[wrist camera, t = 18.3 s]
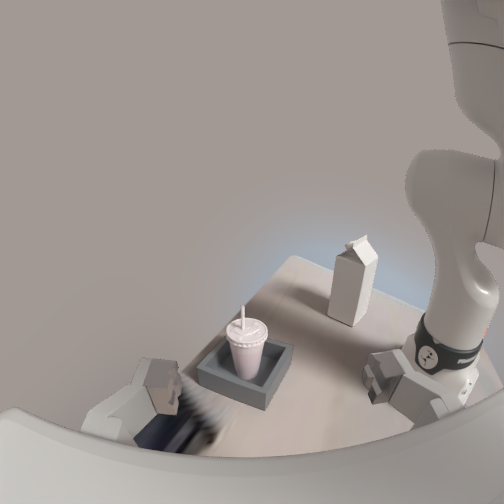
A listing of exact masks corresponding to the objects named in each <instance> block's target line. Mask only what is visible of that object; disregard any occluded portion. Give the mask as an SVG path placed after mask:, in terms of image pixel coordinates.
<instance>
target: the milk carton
mask: <svg viewBox="0 0 504 504" xmlns="http://www.w3.org/2000/svg"><path fill="white" fill-rule="evenodd" d="M345 247H346V249H347V251H345V252H343V253H341V254H339V255H337V256H336V261H335V268H334V275H333V282H332V288H331V295H330V301H329V307H328V313H327V315H328V316H330V317H332V318H334V319H336V320H339V321H341V322H343V323H345V324H347V325H349V326H352V327H353V326H354V325H355V324H356V323H357V322H358V321H359V320H360V319H361V318H362V317H363V316H364V315H365V314H366V311H367V307H368V303H369V298H370V294H371V290H372V285H373V281H374V276H375V271H376V266H377V261H378V256H377V254H376V253H375V251H374V250H373V248H372V247H371V245H370V244H369V242H368V241H367V235H365V236H364V237H362V238H360V239H358V240H356V241H352V242H350V243H348V244H346V245H345Z"/></svg>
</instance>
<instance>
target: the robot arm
mask: <svg viewBox="0 0 504 504" xmlns="http://www.w3.org/2000/svg"><path fill="white" fill-rule="evenodd" d="M441 4H442V12H443V18H444V24H445V30H446V35H447V40H448V45H449V51H450V56H451V63H452V70H453V78H454V87H455V97H456V101H457V103H458V105H459V107H460V109H461V111H462V112H463V113H464V115H465V116H466V117H467V118H468V119H469V120H470V121H471V122H472V123H474V124H475V125H476V126H477V127H478V128H480V129H481V130H482V131H484V132H485V133H486V134H488V135H489V136H490V137H491V138H492V139H493V140H494V141H495V142H496V143H497V145H498V146H499V148H500V151H501V157H500V159H499V160H492V159H488V158H484V157H480V156H476V155H472V154H468V153H463V152H460V151H454V150H423V151H421V152H420V153H418V154H417V155H416V156H415V158H414V159H413V160H412V162H411V164H410V165H409V168H408V171H407V174H406V179H405V191H406V197H407V201H408V203H409V206H410V208H411V210H412V212H413V213H414V215H415V216H416V217H417V218H418V220H419V221H420V222H421V224H422V225H423V227H424V228H425V230H426V232H427V234H428V236H429V238H430V241H431V243H432V247H433V251H434V256H435V266H436V268H435V279H434V285H433V289H432V293H431V297H430V301H429V304H428V307H427V310H426V312H425V313H424V314H423V316H422V317H421V320H420V321H419V323H418V326H417V330H416V332H415V333H414V334H412V335H409V336H408V338H407V340H406V342H405V344H404V346H403V348H402V350H400V349H395V350H390V351H384V352H378V353H371V354H370V355H369V356H368V358H367V362H368V364H367V365H366V366H365V367H364V369H363V372H362V380H363V384H364V386H365V387H366V388H367V389H369V392H368V396H369V398H370V400H371V403H372V405H374V404H379V403H384V402H389V403H390V404H391V405H392V406H394V407H395V408H396V409H397V410H398V411H400V412H401V413H402V414H403V415H405V416H406V417H407V418H408V419H410V420H411V421H412V422H413V423H415V424H414V425H413V427H412V428H411V429H410V431H407V432H404V433H401V434H398V435H394V436H391V437H387V438H384V439H380V440H376V441H372V442H368V443H364V444H360V445H355V446H350V447H345V448H340V449H334V450H328V451H322V452H315V453H307V454H298V455H287V456H273V457H210V456H196V455H185V454H176V453H169V452H162V451H155V450H149V449H144V448H139V447H138V446H137V444H136V443H135V441H134V440H133V438H134V437H135V436H136V435H137V434H138V433H139V432H140V431H141V430H142V429H143V428H144V427H145V426H146V425H147V424H148V423H149V422H150V421H151V420H152V419H153V418H154V417H155V416H156V415H157V413H160V414H170V415H176V413H177V408H178V404H179V403H178V399H177V397H178V396H180V394H181V384H182V383H181V376H180V374H179V373H178V372H177V371H178V364H177V361H171V360H161V359H151V358H141V359H140V361H139V364H138V366H137V369H136V371H135V374H134V376H133V379H132V381H131V384H127V385H125V386H124V387H122V388H121V389H119V390H118V391H116V392H115V393H114V394H112V395H111V396H110V397H108V398H106V399H105V400H103V401H102V402H100V403H99V404H97V405H96V406H95V407H93V408H91V409H90V410H89V411H88V413H87V415H86V418H85V420H84V422H83V425H82V427H81V430H80V432H77V431H74V430H71V429H68V428H66V427H63V426H60V425H57V424H55V423H52V422H50V421H47V420H45V419H42V418H40V417H38V416H35V415H33V414H31V413H29V412H27V411H25V410H22V409H20V408H18V407H13V408H9V409H7V410H5V411H3V412H1V413H0V504H504V388H503V389H501V390H499V391H498V392H496V393H494V394H492V395H491V396H489V397H487V398H485V399H483V400H481V401H479V402H477V403H475V404H473V405H471V406H469V407H467V408H464V406H463V405H464V404H465V402H466V400H467V398H468V396H469V394H470V392H471V390H472V388H473V386H474V384H475V382H476V380H477V378H478V376H479V372H478V370H477V368H476V367H475V365H476V364H477V362H478V360H479V358H480V353H479V352H480V349H481V346H482V343H483V337H484V336H485V334H486V332H487V330H488V326H489V324H490V322H491V319H492V317H493V315H494V312H495V310H496V307H497V305H498V301H499V288H498V285H497V282H496V280H495V279H494V277H493V275H492V274H491V272H490V271H489V270H488V269H487V268H486V267H485V266H484V264H483V263H482V262H481V261H480V259H479V258H478V256H477V254H476V250H475V244H476V243H477V242H482V241H483V242H484V243H487V244H490V245H493V246H495V247H498V248H501V249H504V0H441Z"/></svg>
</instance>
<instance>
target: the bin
mask: <svg viewBox="0 0 504 504" xmlns="http://www.w3.org/2000/svg"><path fill="white" fill-rule="evenodd" d="M293 346H294V345H290V344H286V343H283V342H279V341H275V340H272V339H268V338H267V339H266V340H265V342H264V346H263V351H262V356H261V361H260V365H259V370H258V374H257V376H256V377H255V378H253V379H250V380H244V379H241V378H239V377H238V376H237V373H236V369H235V365H234V361H233V356H232V352H231V348H230V343H229V341H228V340H227V338H226V335H225V336H224V338H223V339H222V340H221V341H220V342H219V343H218V344H217V345H216V346H215V347H214V348H213V350H212V351H211V352H210V353H209V354H208V355H207V356H206V357H205V358H204V359H203V360H202V361H201V363H200V364H199V365H198V366H197V367H196V370H197V375H198V381H199V385H201V386H203V387H205V388H207V389H210V390H212V391H214V392H217V393H219V394H221V395H224V396H226V397H229V398H231V399H234V400H237V401H239V402H242V403H244V404H247V405H250V406H253V407H255V408H258V409H261V410H264V411H265V410H266V408H267V406H268V405H269V403H270V401H271V399H272V398H273V396H274V394H275V392H276V390H277V389H278V387H279V385H280V383H281V381H282V380H283V378H284V376H285V374H286V372H287V370H288V368H289V366H290V365H291V361H292V353H293Z"/></svg>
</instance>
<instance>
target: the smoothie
mask: <svg viewBox="0 0 504 504" xmlns="http://www.w3.org/2000/svg"><path fill="white" fill-rule="evenodd" d="M267 336H268V333H267V327H266V325H265V324H264V323H263V322H261V321H259V320H257V319H253V318H245V306H244V305H241V318H240V319H236V320H234V321H232V322H231V323H229V324H228V326H227V328H226V338H227V340H228V341H229V343H230V348H231V352H232V356H233V361H234V365H235V369H236V373H237V376H238V377H239V378H241V379H244V380H250V379H253V378H255V377H256V376H257V374H258V370H259V365H260V361H261V356H262V351H263V346H264V342H265V340H266V339H267Z"/></svg>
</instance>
